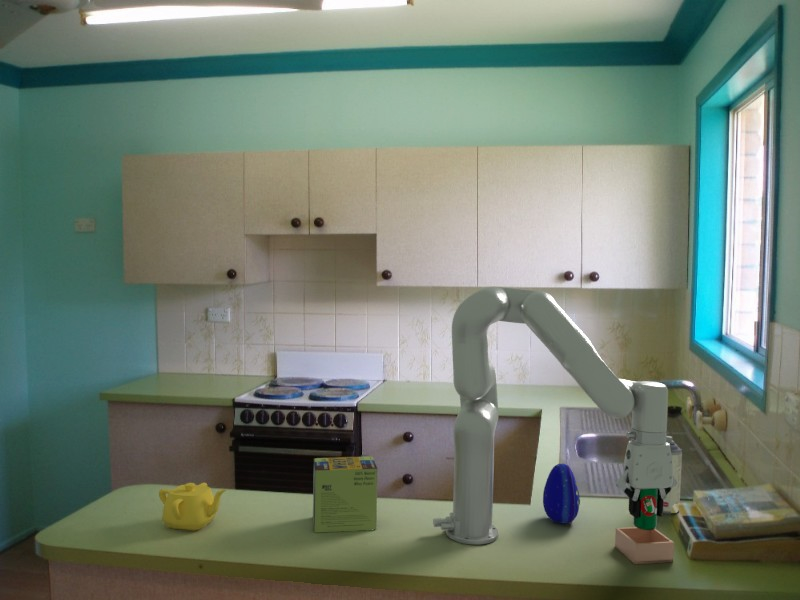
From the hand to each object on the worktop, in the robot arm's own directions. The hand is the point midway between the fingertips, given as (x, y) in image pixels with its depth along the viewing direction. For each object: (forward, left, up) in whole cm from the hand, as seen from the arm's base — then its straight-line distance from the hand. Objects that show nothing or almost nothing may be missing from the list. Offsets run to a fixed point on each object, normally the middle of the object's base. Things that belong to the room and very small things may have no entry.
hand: (645, 514), depth 156 cm
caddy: (0, 0, -9) cm, 9 cm away
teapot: (-103, +31, -10) cm, 108 cm away
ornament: (-11, +21, -10) cm, 26 cm away
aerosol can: (+21, +25, -10) cm, 34 cm away
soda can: (0, 0, -3) cm, 3 cm away
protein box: (-66, +27, -10) cm, 72 cm away
